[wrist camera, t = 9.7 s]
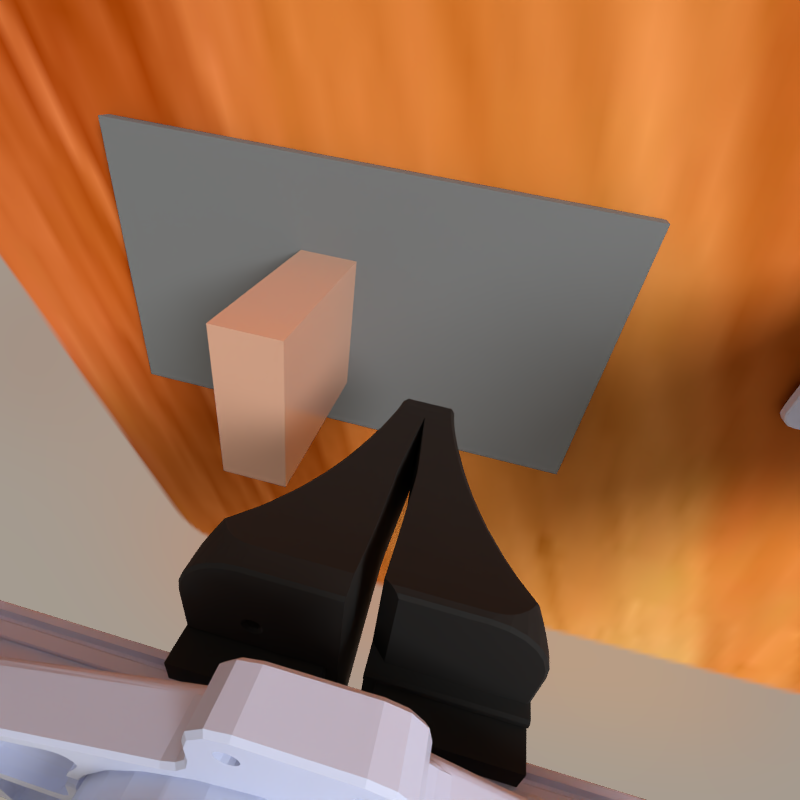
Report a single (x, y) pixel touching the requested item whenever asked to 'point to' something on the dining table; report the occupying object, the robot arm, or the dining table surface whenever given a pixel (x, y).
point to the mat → (387, 278)
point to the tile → (281, 363)
